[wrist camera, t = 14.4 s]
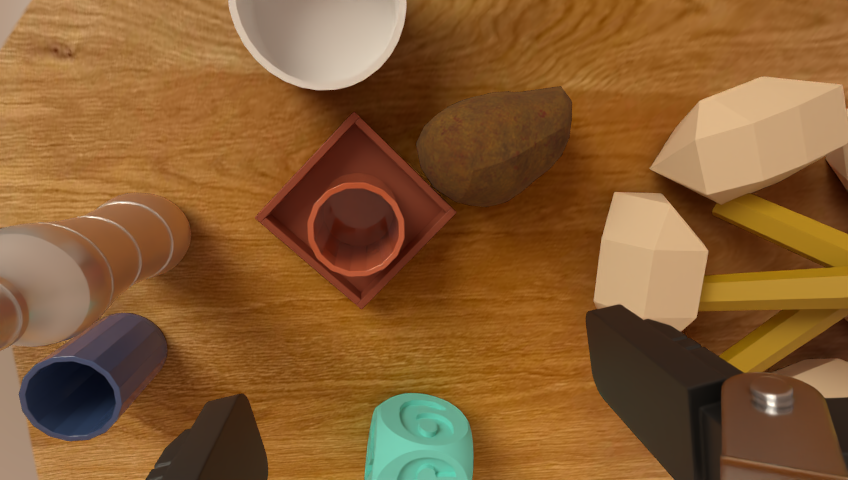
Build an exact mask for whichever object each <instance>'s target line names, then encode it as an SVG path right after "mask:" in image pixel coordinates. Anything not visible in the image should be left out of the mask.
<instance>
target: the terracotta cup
mask: <svg viewBox="0 0 848 480" xmlns="http://www.w3.org/2000/svg"><path fill="white" fill-rule="evenodd" d="M307 227H308V241H309V244H310V246H311V248H312V250H313V252H314V254H315V256H316V258H317V259H318V260H319V261H321V262H322V263H323V264H324V265H325V266H326V267H328V268H329V269H330V270H331V271H334V272H337V273H339V274H342V275H345V276H348V277H357V276H369V275H371V274H374V273H376V272H378V271H380V270H383V269H385V268H386V267H387V266H388V265H389V264H390V263H391V262H392V261H393V260H394V259H395V258H396V257H397V255H398V254H399V251H400V249H401V246H402V244H403V241H404V238H405V232H404V218H403V215H402V213H401V211H400V208H399V206H398V203H397V201H396V199H395V197H394V194H393V192H392V190H391V189H390V188H389V187H388V186H387V185H386V183H384V182H383V181H382V180H381V179H379V178H377V177H375V176H373V175H371V174H367V173H359V172H356V173H348V174H345V175H343V176H341V177H339V178H337V179H335V180H334V181H333V182H332V183H331V184H330V185H329V186H328V187H327V188H326V189H325V190H324V191H323V193H322V194H321V195H320V197H319V198H318V200H317V201H316V202H315V204H314V205H313V208H312V211H311V213H310V216H309V219H308V223H307Z"/></svg>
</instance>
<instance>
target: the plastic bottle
mask: <svg viewBox="0 0 848 480" xmlns="http://www.w3.org/2000/svg"><path fill="white" fill-rule="evenodd" d="M190 242H191V229H190V224H189V222H188V220H187V217H186V216H185V215H184V213H183V212H182V210H181V209H180V208H179V207H178V206H177V205H175V204H174V203H172V202H171V201H170V200H168V199H166V198H163V197H161V196H158V195H154V194H146V193H127V194H123V195H119V196H117V197H115V198H113V199H111V200H109V201H107V202H105V203H104V204H102V205H101V206H100V207H98V208H97V209H96V210H94V211H92V212H90V213H88V214H86V215H84V216H81V217H77V218H71V219H67V220H62V221H55V222H42V223H28V224H20V225H15V226H9V227H5V228H2V229H0V351H1V350H3V349H5V348H7V347H9V346H11V345H16V346H29V347H36V346H45V345H49V344H53V343H57V342H61V341H65V340H68V339H71V338H73V337H75V336H77V335H79V334H81V333H82V332H84V331H85V330H86V329H87V328H89V327H90V326H91V325H92V324H93V323H94V322H96V321H97V320H98V319H99V318H100V316H101V315H102V314H103V313H104V312H105V311H106V310H107V309H108V307H109V306H110V305H111V304H112V303H113V302H114V301H115V299H116V298H117V297H118V296H120V295H121V294H122V293H123V292H124V291H126V290H127V289H128V288H129V287H131V286H132V285H134V284H136V283H138V282H140V281H142V280H144V279H149V278H152V277H156V276H158V275H161V274H163V273H165V272H167V271H169V270H171V269H173V268H174V267H175V266H176V265H178V263H179V262H180V261H181V260H182V259H183V257H184V255H185V254H186V252H187V250H188V248H189V246H190Z"/></svg>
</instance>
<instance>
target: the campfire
mask: <svg viewBox="0 0 848 480" xmlns="http://www.w3.org/2000/svg"><path fill="white" fill-rule="evenodd" d="M824 156H826V160H827V162H828V163H829V165H830V166H831V168H832V169H833V171H834V172H835V174H836V175H837V176H838V178H839V179H840V181H841V182H842V184H843V185H844V187H845V188H846V190H847V191H848V109H846V106H845V98H844V90H843V85H840V84H831V83H821V82H811V81H801V80H792V79H782V78H772V77H763V76H762V77H760V78H757V79H755V80H752V81H749V82H747V83H744V84H742V85H739V86H736V87H734V88H731V89H729V90H726V91H724V92H721V93H718V94H716V95H713V96H711V97H708V98H705V99H703V100H700V101H699V102H698V103H697V104H696V105H695V107H694V108H693V109H692V110H691V111H690V112H689V113H688V114H687V116H686V117H685V118H684V119H683V120H682V121H681V122H680V123H679V125H678V126H677V127H676V128H675V129H674V131H673V133H672V134H671V136H670V137H669V139H668V140H667V142H666V144H665V145H664V147H663V148H662V150H661V152H660V153H659V155H658V156H657V158H656V159H655V161H654V163H653V164H652V166H651V167H650V170H652V171H654V172H656V173H658V174H660V175H662V176H664V177H666V178H668V179H670V180H672V181H674V182H676V183H678V184H680V185H682V186H684V187H686V188H688V189H690V190H693V191H695V192H697V193H699V194H701V195H703V196H705V197H707V198H709V199H711V200H713V201H715V202H717V203H716V204H715V206H714V208H713V210H712V215H713V216H716V217H718V218H720V219H722V220H724V221H726V222H729V223H731V224H733V225H735V226H737V227H739V228H742V229H744V230H746V231H748V232H750V233H752V234H755V235H757V236H759V237H761V238H763V239H765V240H768V241H770V242H772V243H774V244H776V245H778V246H781V247H783V248H785V249H787V250H789V251H791V252H794V253H796V254H798V255H800V256H802V257H805V258H807V259H809V260H811V261H813V262H815V263H818V264H820V265H822V266H824V267H826V268H815V269H799V270H783V271H768V272H752V273H736V274H720V275H704V273H705V267H706V262H707V256H708V250H707V248H706V247H705V245H704V244H703V242H702V241H701V240H700V239H699V237H698V236H697V235H696V234H695V233H694V231H693V230H692V229H691V228H690V227H689V225H688V224H687V223H686V222H685V221H684V219H683V218H682V217H681V216H680V215H679V213H678V212H677V211H676V210H675V209H674V207H673V206H672V205H671V204H670V203H669V201H668V200H667V199H666V198H665V197H664V196H663V194H662V193H632V192H614V195H613V199H612V202H611V206H610V210H609V213H608V217H607V220H606V224H605V228H604V231H603V235H602V239H601V247H600V255H599V263H598V270H597V278H596V286H595V294H594V303H595V306H596V308H597V309H600V308H604V307H608V306H613V305H617V304H621V305H623V306H624V307H626V308H627V309H628V310H630V311H631V312H633V313H634V314H636V315H637V316H639V317H640V318H642V319H643V320H644V319H651V320H654V321H658V322H661V323H664V324H667V325H671V326H672V327H674V328H675V329H677V330H678V331H680V332H681V331H682V330H683V329H684V328H686V327H687V326H688V325H689V324H690V323H691V322H693V321H694V320H695V319H696V318H697V313H698V311H736V310H781V311H780V312H779V313H777V314H776V315H774V316H773V317H772V318H770V319H769V320H768V321H766V322H765V323H763V324H762V325H761V326H759V327H758V328H756V329H755V330H754V331H752V332H751V333H750V334H748V335H747V336H745V337H744V338H743V339H741V340H740V341H739V342H737V343H736V344H734V345H733V346H732V347H730V348H729V349H728V350H726V351H725V352H723V353H722V354H721V355H719V357H720V358H722V359H724V360H725V361H727V362H728V363H730V364H731V365H733V366H734V367H736V368H738V369H739V370H741V371H742V372H744V373H749V372H763V371H765V370H766V369H768V368H769V367H771V366H772V365H774V364H775V363H777V362H778V361H780V360H781V359H783V358H784V357H786V356H787V355H789V354H790V353H792V352H793V351H795V350H796V349H798V348H799V347H801V346H802V345H804V344H805V343H807V342H808V341H810V340H811V339H813V338H814V337H816V336H817V335H819V334H820V333H822V332H823V331H825V330H826V329H828V328H829V327H831V326H832V325H834V324H835V323H837V322H838V321H840V320H841V319H843V318H845V320H846V321H847V322H848V234H846V233H844V232H842V231H839V230H837V229H834V228H832V227H830V226H827V225H825V224H822V223H820V222H818V221H815V220H813V219H810V218H808V217H806V216H803V215H801V214H798V213H796V212H794V211H791V210H789V209H786V208H784V207H782V206H779V205H777V204H775V203H772V202H770V201H767V200H765V199H763V198H760V197H758V196H755V195H753V194H751V193H752V192H755V191H758V190H760V189H763V188H765V187H768V186H770V185H773V184H775V183H778V182H780V181H782V180H784V179H786V178H787V177H789V176H791V175H793V174H794V173H796V172H798V171H800V170H801V169H803V168H805V167H807V166H809V165H810V164H812V163H814V162H816V161H817V160H819V159H821V158H823V157H824ZM772 373H776V374H781V375H786V376H789V377H793V378H796V379H798V380H801V381H803V382H805V383H807V384H809V385H811V386H813V387H814V388H816V389H817V390H818V391H819V392H820V393H821V394H822V395H823V396H824V398H842V397H848V362H846V361H844V360H841V359H839V358H832V359H805V360H802V361H800V362H797V363H795V364H792V365H790V366H787V367H785V368H782V369H780V370H777V371H775V372H772Z"/></svg>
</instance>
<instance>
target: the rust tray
mask: <svg viewBox="0 0 848 480" xmlns="http://www.w3.org/2000/svg"><path fill="white" fill-rule="evenodd" d="M356 172H359V173H367V174H371V175H373V176H375V177H377V178H379V179H381V180H382V181H383V182H384V183H386V185H387V186H388V187H389V188H390V189H391V190H392V192H393V194H394V197H395V199H396V201H397V203H398V206H399V208H400V211H401V213H402V215H403V218H404V232H405V238H404V241H403V244H402V246H401V249H400V251H399V254H398V255H397V257H396V258H395V259H394V260H393V261H392V262H391V263H390V264H389V265H388V266H387V267H386V268H385V269H383V270H380V271H378V272H376V273H374V274H371V275H369V276H357V277H348V276H345V275H342V274H339V273H337V272H334V271H331V270H330V269H329V268H328V267H326V266H325V265H324V264H323V263H322V262H321V261H319V260H318V259H317V258H316V256H315V254H314V252H313V250H312V248H311V246H310V244H309V241H308V227H307V223H308V219H309V216H310V213H311V211H312V208H313V205H314V204H315V202H316V201H317V200H318V198H319V197H320V195H321V194H322V193H323V191H324V190H325V189H326V188H327V187H328V186H329V185H330V184H331V183H332V182H333V181H334V180H335V179H337V178H339V177H341V176H343V175H345V174H348V173H356ZM456 213H457V212H456V211H455V210H454V209H453V208H452V207H451V206H450V205H449V204H448V203H447V202H446V201H445V200H444V199H443V198H442V197H441V196H440V195H439V194H438V193H437V192H436V191H435V190H434V189H433V188H432V187H431V186H429V185H428V184H427V183H426V182H425V181H424V180H423V179H422V178H421V177H420V176H419V175H418V174H417V173H416V172H415V171H414V170H413V169H412V168H411V167H410V166H409V165H408V164H407V163H406V162H405V161H404V160H403V159H402V158H401V157H400V156H399V155H398V154H397V153H396V152H395V151H394V150H393V149H392V148H391V147H390V146H389V145H388V144H387V143H386V142H385V141H384V140H383V139H382V138H381V137H380V136H379V135H378V134H377V133H376V132H375V131H374V130H373V129H372V128H370V127H369V126H368V125H367V124H366V123H365V122H364V121H363V120H362V119H361V118H360V117H359V116H358V115H357V114H356V113H355V112H353V113H352V114H351V115H350V116H349V117H348V118H347V119H346V120H345V121H344V122H343V123H342V125H341V126H340V127H339V128H338V129H337V130H336V131H335V132H334V133H333V134H332V135H331V136H330V137H329V138H328V140H327V141H326V142H325V143H324V144H323V145H322V146H321V147H320V148H319V149H318V150H317V151H316V152H315V153H314V155H313V156H312V157H311V158H310V159H309V160H308V161H307V162H306V163H305V164H304V165H303V166H302V167H301V168H300V170H299V171H298V172H297V173H296V174H295V175H294V176H293V177H292V178H291V179H290V180H289V181H288V182H287V183H286V185H285V186H284V187H283V188H282V189H281V190H280V191H279V192H278V193H277V194H276V195H275V196H274V197H273V198H272V199H271V201H270V202H269V203H268V204H267V205H266V206H265V207H264V208H263V209H262V210H261V211H260V212H259V213H258V214H257V216H256V217H255V219H257V220H258V221H259V222H260V223H261V224H262V225H264V226H265V227H266V228H267V229H268V230H269V231H271V232H272V233H273V234H274V235H275V236H276V237H278V238H279V239H280V240H281V241H282V242H283V243H285V244H286V245H287V246H288V247H289V248H290V249H292V250H293V251H294V252H295V253H296V254H297V255H299V256H300V257H301V258H302V259H303V260H304V261H306V262H307V263H308V264H309V265H310V266H311V267H313V268H314V269H315V270H316V271H317V272H318V273H320V274H321V275H322V276H323V277H324V278H325V279H327V280H328V281H329V282H330V283H331V284H332V285H334V286H335V287H336V288H337V289H338V290H339V291H341V292H342V293H343V294H344V295H345V296H346V297H348V298H349V299H350V300H351V301H352V302H353V303H355V304H357V306H358V307H359V308H360V309H363V308H364V307H365V306H366V305H367V304H368V303H369V301H370V300H371V299H372V298H373V297H374V296H375V295H376V294H377V293H378V292H379V291H380V290H381V289H382V288H383V287H384V286H385V285H386V284H387V283H388V282H389V281H390V280H391V279H392V278H393V277H394V276H395V275H396V274H397V273H398V272H399V271H400V270H401V269H402V268H403V267H404V266H405V265H406V264H407V263H408V262H409V261H410V260H411V259H412V258H413V257H414V256H415V255H416V254H417V253H418V252H419V250H420V249H421V248H422V247H423V246H424V245H425V244H426V243H427V242H428V241H429V240H430V239H431V238H432V237H433V236H434V235H435V234H436V233H437V232H438V231H439V230H440V229H441V228H442V227H443V226H444V225H445V224H446V223H447V222H448V221H449V220H450V219H451V218H452V217H453V216H454V215H455V214H456Z"/></svg>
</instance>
